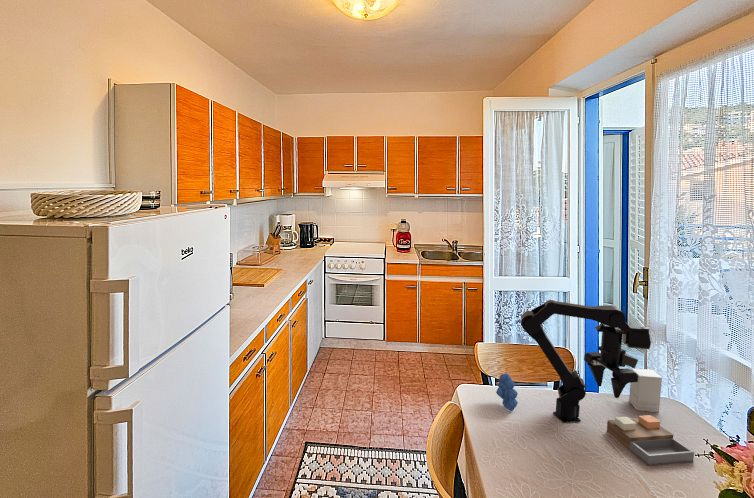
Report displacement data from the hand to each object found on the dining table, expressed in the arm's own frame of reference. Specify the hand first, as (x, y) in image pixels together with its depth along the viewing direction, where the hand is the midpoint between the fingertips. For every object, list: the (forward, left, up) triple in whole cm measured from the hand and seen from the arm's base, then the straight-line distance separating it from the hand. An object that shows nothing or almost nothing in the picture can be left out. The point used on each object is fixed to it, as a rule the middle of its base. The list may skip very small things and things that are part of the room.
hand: (607, 391), depth 138 cm
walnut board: (+4, -10, -11) cm, 15 cm away
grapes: (-29, +14, -11) cm, 34 cm away
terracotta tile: (+8, -9, -7) cm, 14 cm away
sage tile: (0, -9, -7) cm, 11 cm away
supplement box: (+21, +9, -11) cm, 26 cm away
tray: (+4, -19, -11) cm, 22 cm away
